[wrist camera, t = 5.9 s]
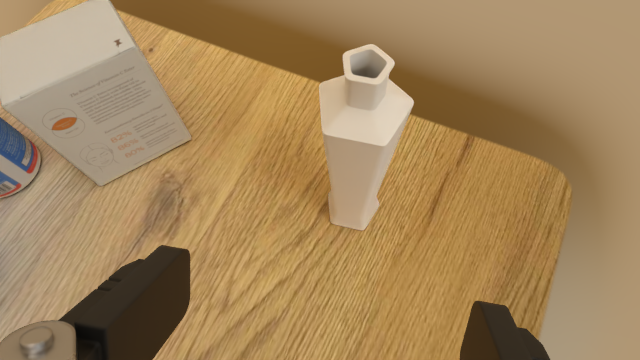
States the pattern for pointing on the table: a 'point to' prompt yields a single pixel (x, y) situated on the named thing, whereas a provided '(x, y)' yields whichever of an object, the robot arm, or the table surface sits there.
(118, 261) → the table surface
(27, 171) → the pill bottle
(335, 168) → the cream faceted vase
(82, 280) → the table surface
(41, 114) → the small box
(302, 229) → the table surface
